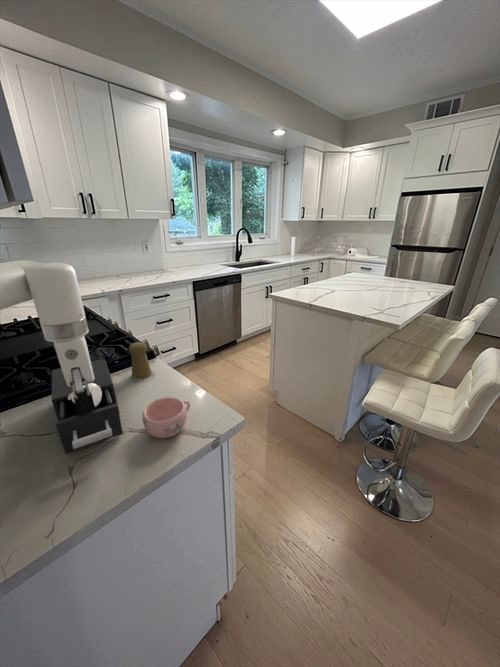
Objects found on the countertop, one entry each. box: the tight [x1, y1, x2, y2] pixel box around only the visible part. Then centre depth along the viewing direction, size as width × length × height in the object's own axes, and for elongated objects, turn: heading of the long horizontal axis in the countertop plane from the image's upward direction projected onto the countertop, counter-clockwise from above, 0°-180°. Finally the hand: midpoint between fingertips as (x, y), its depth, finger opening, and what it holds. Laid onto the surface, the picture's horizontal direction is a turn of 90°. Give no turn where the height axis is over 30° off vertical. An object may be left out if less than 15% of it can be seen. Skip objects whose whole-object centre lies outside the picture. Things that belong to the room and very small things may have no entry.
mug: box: [142, 396, 191, 439], centre depth 67 cm, size 12×10×6 cm
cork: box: [128, 341, 152, 380], centre depth 88 cm, size 6×6×11 cm
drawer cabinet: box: [51, 358, 120, 421], centre depth 73 cm, size 16×13×10 cm
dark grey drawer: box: [55, 388, 124, 455], centre depth 63 cm, size 20×11×8 cm, turn 33°
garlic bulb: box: [68, 383, 102, 407], centre depth 61 cm, size 6×6×5 cm
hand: (85, 402), depth 62 cm, fingers closed on garlic bulb, 5 cm apart
